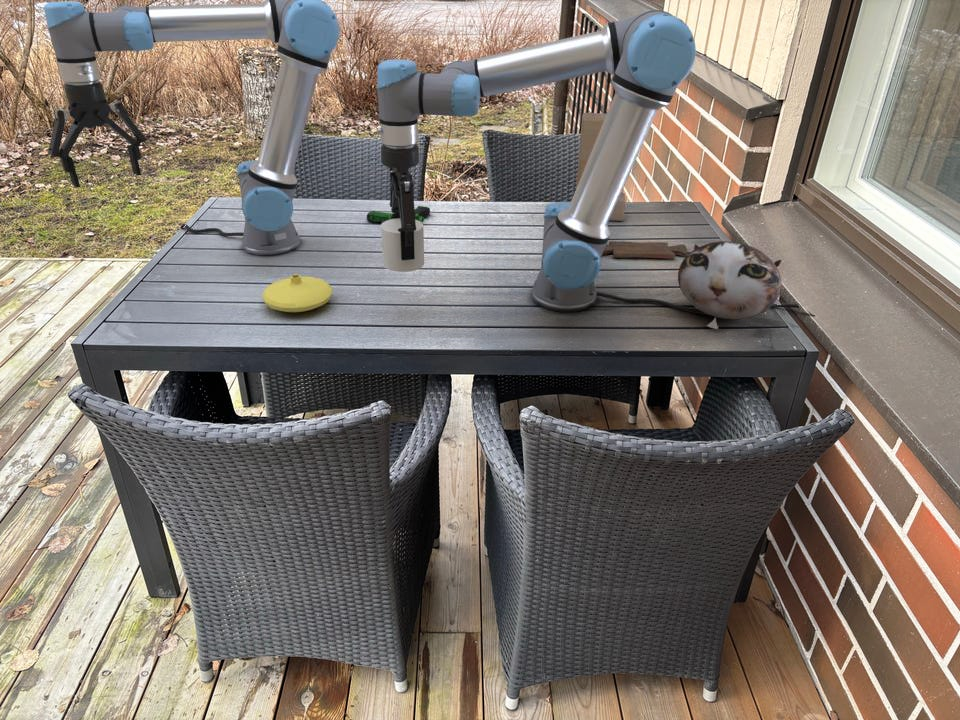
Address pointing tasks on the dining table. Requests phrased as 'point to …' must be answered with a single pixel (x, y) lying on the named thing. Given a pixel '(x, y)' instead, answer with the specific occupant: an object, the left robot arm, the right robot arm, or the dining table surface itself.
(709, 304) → the cat face balloon
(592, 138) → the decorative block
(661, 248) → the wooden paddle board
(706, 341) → the dining table surface
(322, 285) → the vase
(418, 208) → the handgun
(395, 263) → the can
